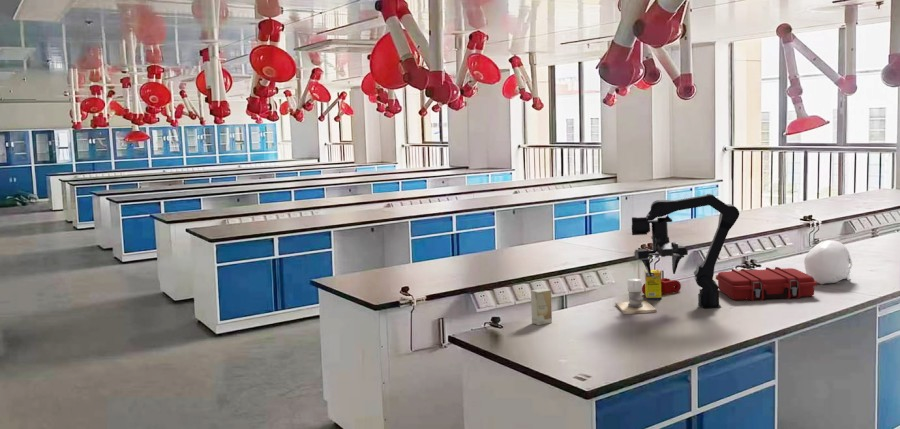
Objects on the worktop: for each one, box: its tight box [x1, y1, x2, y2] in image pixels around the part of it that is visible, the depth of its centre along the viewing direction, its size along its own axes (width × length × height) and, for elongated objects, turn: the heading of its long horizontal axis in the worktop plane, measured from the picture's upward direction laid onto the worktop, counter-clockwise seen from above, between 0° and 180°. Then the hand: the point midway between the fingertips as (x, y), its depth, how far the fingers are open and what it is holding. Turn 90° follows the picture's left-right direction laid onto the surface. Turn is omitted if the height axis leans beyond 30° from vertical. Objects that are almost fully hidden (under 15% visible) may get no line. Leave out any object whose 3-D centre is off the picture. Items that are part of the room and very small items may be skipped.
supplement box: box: [644, 269, 662, 301], centre depth 293 cm, size 6×6×11 cm
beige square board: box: [615, 291, 658, 315], centre depth 278 cm, size 12×14×7 cm
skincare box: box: [530, 288, 553, 326], centre depth 266 cm, size 6×4×12 cm
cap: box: [627, 278, 643, 293], centre depth 277 cm, size 5×5×4 cm
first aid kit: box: [715, 266, 818, 302], centre depth 289 cm, size 32×23×9 cm
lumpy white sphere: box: [803, 239, 853, 285], centre depth 302 cm, size 16×20×22 cm
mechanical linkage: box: [641, 277, 682, 295], centre depth 301 cm, size 16×7×5 cm, turn 113°
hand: (662, 274), depth 278 cm, fingers open, 9 cm apart
